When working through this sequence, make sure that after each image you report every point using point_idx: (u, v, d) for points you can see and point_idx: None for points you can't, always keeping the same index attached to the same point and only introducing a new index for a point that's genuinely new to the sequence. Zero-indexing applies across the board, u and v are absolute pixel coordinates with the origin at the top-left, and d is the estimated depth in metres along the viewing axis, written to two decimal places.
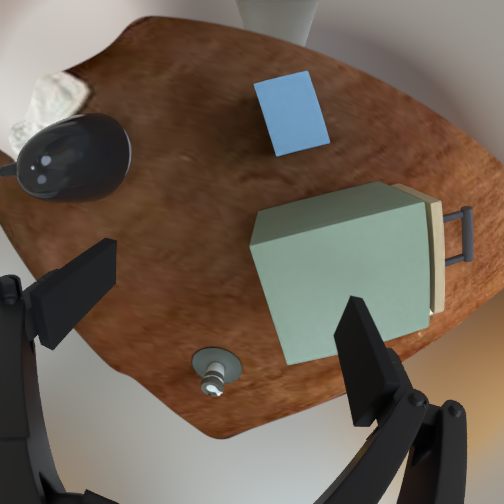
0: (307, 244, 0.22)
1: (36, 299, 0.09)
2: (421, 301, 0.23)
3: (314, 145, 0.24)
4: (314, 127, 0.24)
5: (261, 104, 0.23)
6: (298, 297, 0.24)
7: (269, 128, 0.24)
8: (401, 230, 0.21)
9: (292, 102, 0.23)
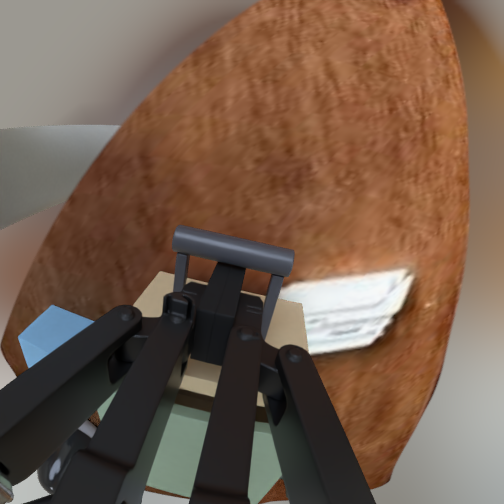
0: None
1: (205, 315, 0.11)
2: None
3: None
4: None
5: None
6: (175, 485, 0.18)
7: None
8: None
9: None
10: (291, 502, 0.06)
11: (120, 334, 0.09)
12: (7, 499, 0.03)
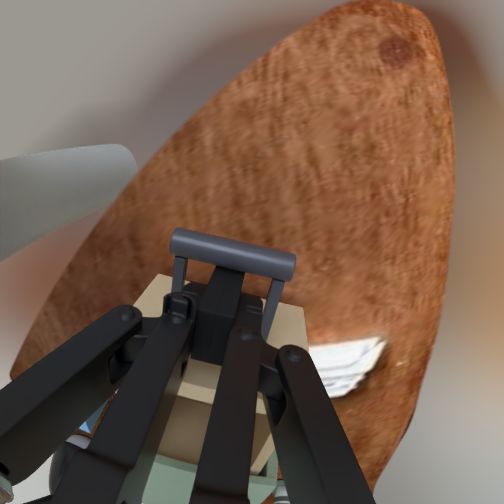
0: None
1: (205, 315, 0.11)
2: None
3: None
4: None
5: None
6: None
7: None
8: None
9: None
10: (291, 502, 0.06)
11: (120, 334, 0.09)
12: (7, 499, 0.03)
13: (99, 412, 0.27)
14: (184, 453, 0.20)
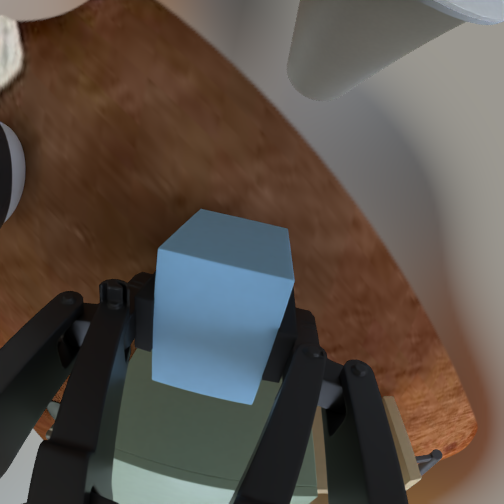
0: (148, 476, 0.13)
1: (143, 303, 0.11)
2: None
3: (222, 397, 0.13)
4: (238, 379, 0.12)
5: (156, 298, 0.11)
6: (130, 488, 0.14)
7: (155, 342, 0.12)
8: None
9: (220, 327, 0.11)
10: None
11: (65, 317, 0.09)
12: None
13: None
14: None
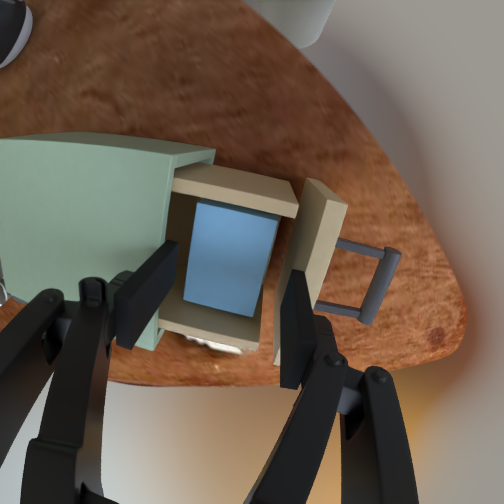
0: (29, 155, 0.14)
1: (122, 300, 0.11)
2: None
3: (232, 311, 0.20)
4: (243, 293, 0.19)
5: (193, 234, 0.18)
6: (14, 215, 0.15)
7: (189, 267, 0.19)
8: (124, 183, 0.14)
9: (233, 252, 0.18)
10: None
11: (48, 314, 0.08)
12: None
13: None
14: None
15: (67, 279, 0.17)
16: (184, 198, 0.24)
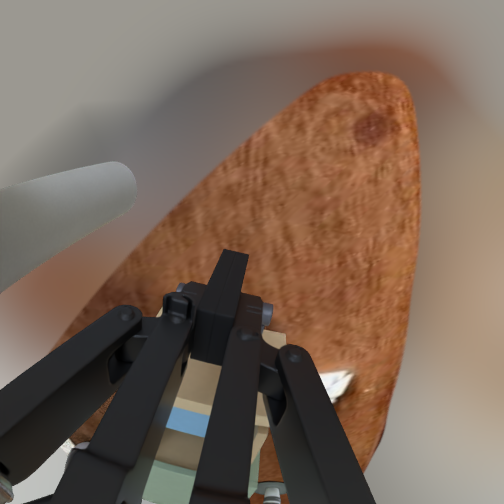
0: None
1: (205, 315, 0.11)
2: None
3: None
4: None
5: (182, 431, 0.22)
6: None
7: None
8: None
9: (191, 417, 0.21)
10: (291, 502, 0.06)
11: (120, 334, 0.09)
12: (7, 499, 0.03)
13: None
14: (186, 453, 0.24)
15: None
16: None
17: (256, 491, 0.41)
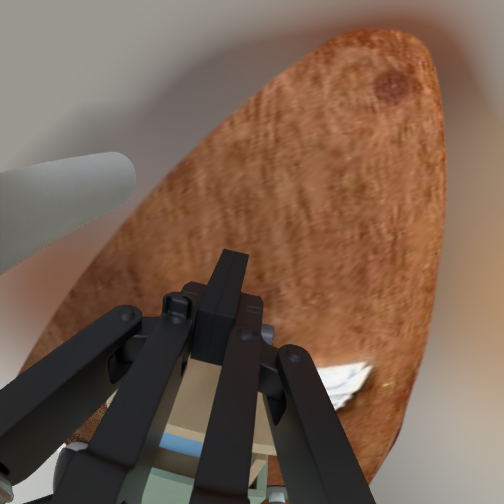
0: None
1: (205, 315, 0.11)
2: None
3: None
4: None
5: (177, 451, 0.19)
6: None
7: None
8: None
9: (185, 439, 0.18)
10: (291, 502, 0.06)
11: (120, 334, 0.09)
12: (7, 499, 0.03)
13: None
14: (181, 470, 0.21)
15: None
16: None
17: None
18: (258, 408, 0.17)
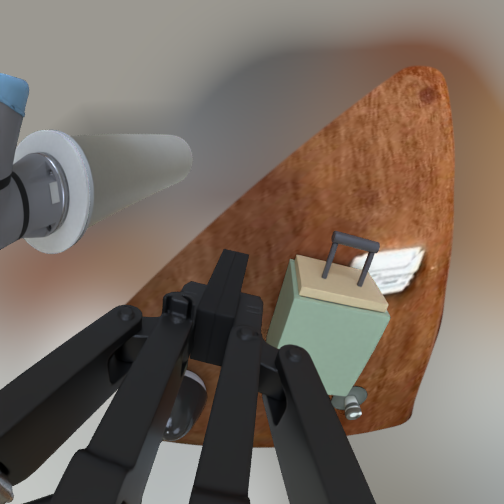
0: None
1: (205, 315, 0.11)
2: (364, 319, 0.33)
3: None
4: None
5: None
6: None
7: None
8: (303, 319, 0.33)
9: None
10: (291, 502, 0.06)
11: (120, 334, 0.09)
12: (7, 499, 0.03)
13: None
14: None
15: (345, 355, 0.35)
16: None
17: (335, 404, 0.54)
18: (368, 290, 0.35)
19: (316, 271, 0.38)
